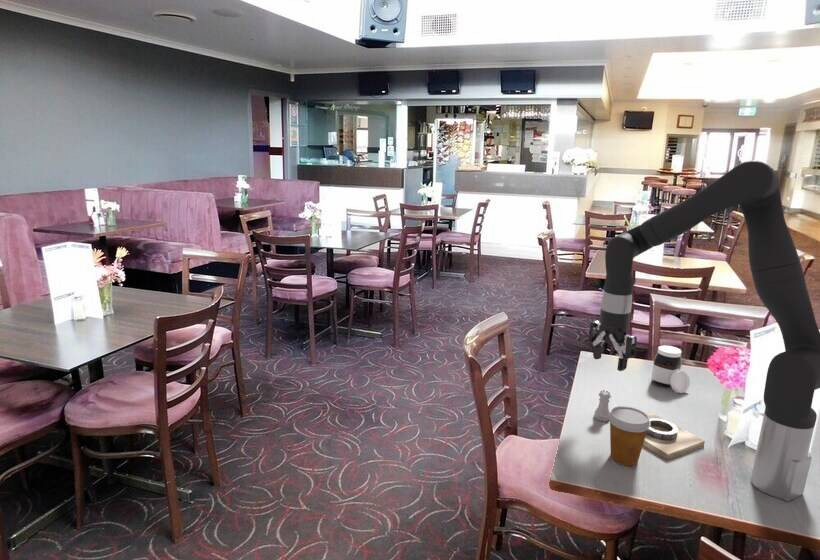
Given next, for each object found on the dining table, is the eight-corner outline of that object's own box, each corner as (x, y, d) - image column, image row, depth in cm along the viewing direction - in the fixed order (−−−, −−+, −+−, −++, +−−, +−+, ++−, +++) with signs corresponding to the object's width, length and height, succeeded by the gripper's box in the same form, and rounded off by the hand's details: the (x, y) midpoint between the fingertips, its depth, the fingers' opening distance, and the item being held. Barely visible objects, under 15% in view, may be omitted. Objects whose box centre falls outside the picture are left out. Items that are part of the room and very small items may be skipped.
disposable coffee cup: (647, 455, 134) (653, 411, 131) (641, 474, 126) (648, 429, 123) (607, 444, 139) (613, 401, 136) (599, 462, 131) (605, 417, 128)
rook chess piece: (611, 423, 149) (614, 396, 147) (594, 421, 150) (597, 394, 148) (609, 415, 154) (612, 389, 152) (592, 413, 154) (595, 387, 152)
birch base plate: (704, 446, 139) (704, 440, 138) (667, 459, 133) (668, 454, 132) (651, 417, 153) (652, 412, 152) (616, 428, 146) (616, 423, 146)
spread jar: (657, 374, 181) (662, 342, 178) (693, 384, 174) (699, 351, 171) (645, 386, 172) (650, 352, 169) (683, 397, 165) (689, 362, 162)
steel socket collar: (683, 436, 141) (684, 429, 140) (662, 443, 137) (663, 437, 136) (657, 421, 148) (658, 415, 147) (636, 428, 144) (637, 422, 143)
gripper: (647, 314, 139) (639, 372, 143) (605, 299, 151) (599, 352, 156) (627, 318, 136) (619, 377, 140) (585, 302, 148) (579, 357, 152)
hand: (608, 364), depth 148 cm, fingers open, 8 cm apart
